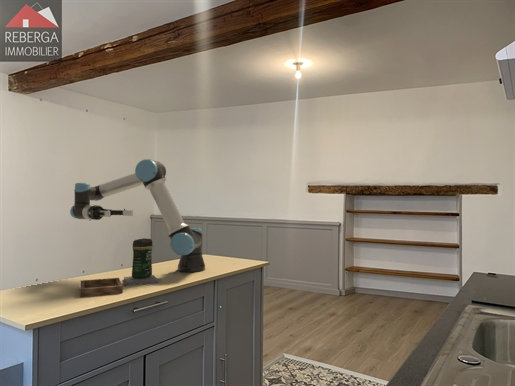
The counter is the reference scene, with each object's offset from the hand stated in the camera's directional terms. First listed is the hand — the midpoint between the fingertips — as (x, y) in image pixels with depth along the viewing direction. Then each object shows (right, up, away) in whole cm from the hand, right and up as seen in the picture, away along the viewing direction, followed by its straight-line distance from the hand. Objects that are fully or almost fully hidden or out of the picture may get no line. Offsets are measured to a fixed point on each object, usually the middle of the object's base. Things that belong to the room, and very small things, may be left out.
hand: (121, 213), depth 189 cm
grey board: (+12, -32, -7) cm, 35 cm away
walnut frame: (0, -32, -25) cm, 40 cm away
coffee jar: (+12, -31, -4) cm, 33 cm away
